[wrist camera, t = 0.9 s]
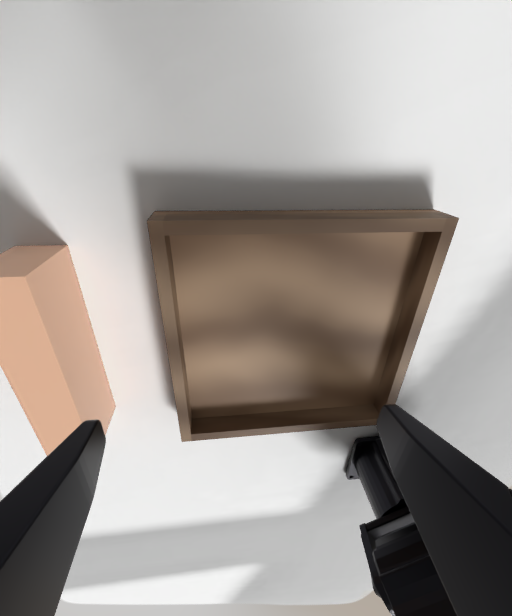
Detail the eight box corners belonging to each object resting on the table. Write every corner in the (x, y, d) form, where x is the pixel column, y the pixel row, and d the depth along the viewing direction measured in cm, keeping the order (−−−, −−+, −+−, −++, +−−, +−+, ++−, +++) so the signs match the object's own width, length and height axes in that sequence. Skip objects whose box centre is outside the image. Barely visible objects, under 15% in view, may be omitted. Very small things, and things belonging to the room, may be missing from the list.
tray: (375, 403, 29) (388, 423, 27) (184, 418, 27) (181, 441, 25) (434, 209, 20) (459, 217, 18) (154, 211, 18) (147, 220, 16)
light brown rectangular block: (116, 404, 26) (96, 459, 21) (79, 407, 25) (50, 463, 21) (68, 244, 19) (24, 276, 14) (16, 244, 18) (-45, 278, 14)
